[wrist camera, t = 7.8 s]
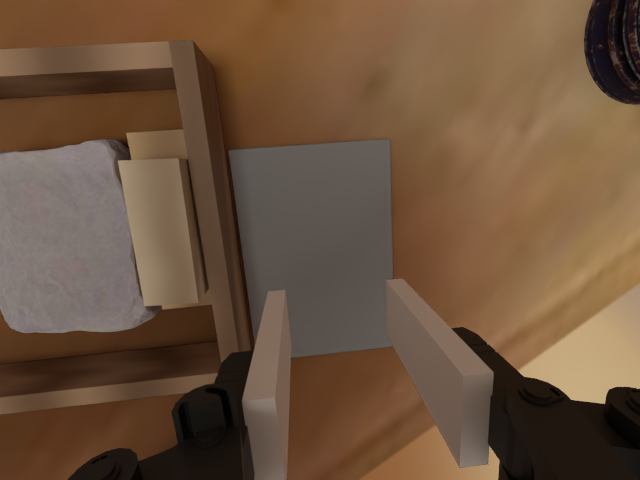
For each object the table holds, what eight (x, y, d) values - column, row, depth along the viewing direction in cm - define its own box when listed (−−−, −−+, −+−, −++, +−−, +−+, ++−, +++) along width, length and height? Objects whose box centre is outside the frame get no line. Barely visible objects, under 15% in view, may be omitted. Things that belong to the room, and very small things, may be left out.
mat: (257, 360, 24) (257, 361, 24) (229, 150, 21) (228, 150, 21) (393, 344, 25) (394, 346, 25) (389, 139, 21) (389, 138, 21)
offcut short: (163, 289, 20) (144, 306, 17) (141, 161, 18) (117, 160, 16) (210, 286, 20) (198, 302, 18) (194, 159, 18) (178, 158, 16)
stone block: (62, 313, 24) (182, 307, 23) (-10, 346, 19) (137, 342, 18) (18, 155, 22) (149, 138, 20) (-75, 149, 17) (87, 127, 16)
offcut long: (179, 291, 23) (162, 309, 20) (149, 138, 21) (126, 132, 18) (227, 287, 23) (218, 303, 20) (204, 134, 21) (190, 128, 18)
